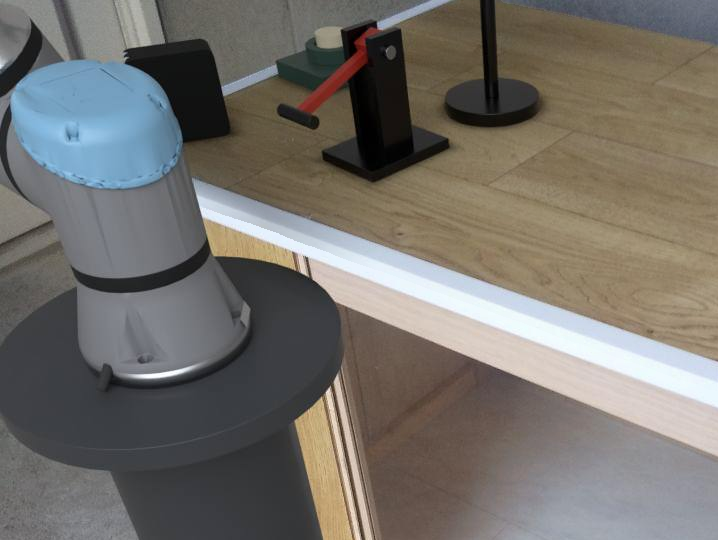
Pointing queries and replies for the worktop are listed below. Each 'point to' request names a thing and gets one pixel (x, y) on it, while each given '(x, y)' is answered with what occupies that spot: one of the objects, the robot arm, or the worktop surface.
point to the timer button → (328, 37)
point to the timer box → (311, 65)
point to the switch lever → (327, 87)
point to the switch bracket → (381, 111)
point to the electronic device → (186, 85)
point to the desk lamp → (491, 87)
